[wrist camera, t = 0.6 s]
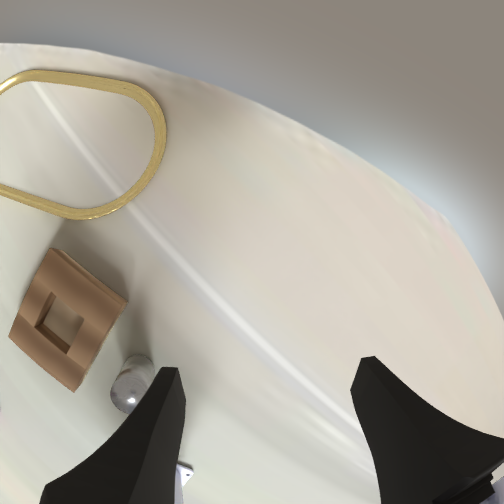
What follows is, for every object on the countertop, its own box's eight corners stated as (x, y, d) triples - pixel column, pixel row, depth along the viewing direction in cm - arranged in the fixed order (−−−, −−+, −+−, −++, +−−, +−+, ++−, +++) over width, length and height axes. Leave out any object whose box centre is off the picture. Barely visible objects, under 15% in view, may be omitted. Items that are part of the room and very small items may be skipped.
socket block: (82, 381, 27) (73, 392, 23) (21, 331, 25) (8, 336, 22) (128, 302, 29) (122, 305, 26) (62, 250, 27) (49, 247, 24)
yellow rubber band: (133, 242, 30) (131, 240, 29) (-48, 177, 22) (-53, 174, 21) (189, 103, 32) (190, 96, 31) (5, 73, 25) (1, 68, 23)
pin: (145, 387, 29) (137, 420, 21) (119, 371, 28) (104, 400, 20) (159, 365, 29) (155, 393, 22) (133, 348, 29) (120, 372, 21)
